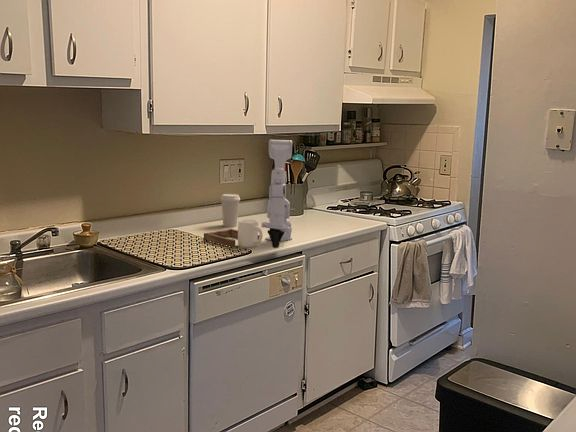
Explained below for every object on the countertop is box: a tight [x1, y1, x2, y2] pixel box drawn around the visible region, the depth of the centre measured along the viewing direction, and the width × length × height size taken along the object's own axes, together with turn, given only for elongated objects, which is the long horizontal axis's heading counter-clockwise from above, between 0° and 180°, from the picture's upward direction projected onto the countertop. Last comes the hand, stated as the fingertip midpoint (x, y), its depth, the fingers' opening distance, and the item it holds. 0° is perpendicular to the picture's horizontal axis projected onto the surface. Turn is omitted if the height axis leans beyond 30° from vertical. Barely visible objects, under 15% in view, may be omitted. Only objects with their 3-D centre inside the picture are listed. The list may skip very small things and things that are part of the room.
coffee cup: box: [220, 193, 241, 228], centre depth 282 cm, size 10×10×15 cm
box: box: [203, 228, 259, 248], centre depth 249 cm, size 16×18×3 cm
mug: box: [237, 218, 264, 248], centre depth 241 cm, size 12×8×10 cm
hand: (275, 247), depth 233 cm, fingers closed
